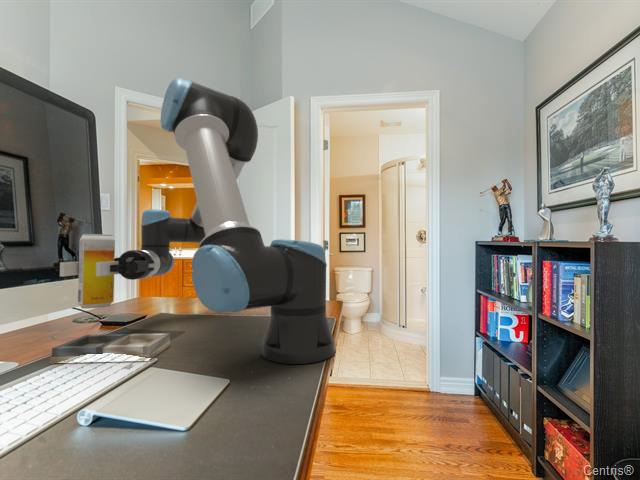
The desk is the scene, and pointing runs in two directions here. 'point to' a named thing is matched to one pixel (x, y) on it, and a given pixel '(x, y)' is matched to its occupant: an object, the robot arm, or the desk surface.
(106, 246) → the beer can
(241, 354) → the desk surface
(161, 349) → the socket board
